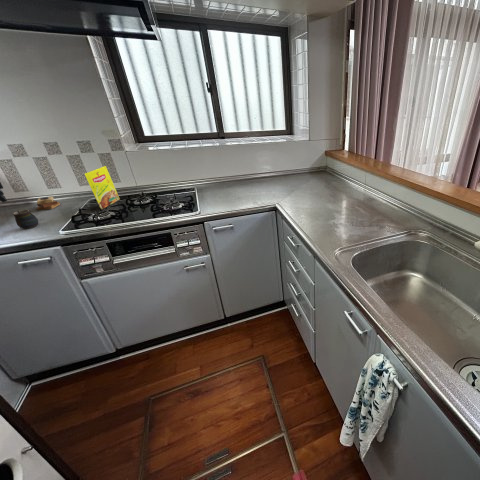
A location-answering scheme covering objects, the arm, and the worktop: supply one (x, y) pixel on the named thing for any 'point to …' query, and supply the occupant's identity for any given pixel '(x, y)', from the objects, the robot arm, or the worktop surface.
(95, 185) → the food package
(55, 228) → the worktop surface
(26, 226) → the mate gourd
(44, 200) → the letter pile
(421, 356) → the worktop surface
